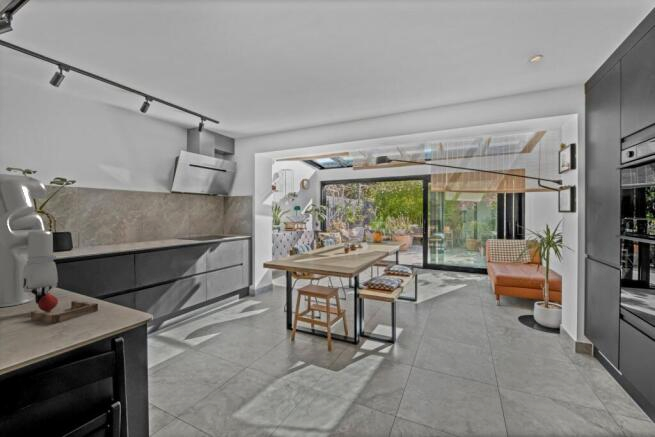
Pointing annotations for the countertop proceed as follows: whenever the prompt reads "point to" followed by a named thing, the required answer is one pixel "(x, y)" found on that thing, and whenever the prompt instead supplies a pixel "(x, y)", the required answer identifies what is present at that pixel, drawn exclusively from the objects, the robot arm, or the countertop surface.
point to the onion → (47, 302)
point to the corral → (78, 310)
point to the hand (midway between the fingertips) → (41, 303)
